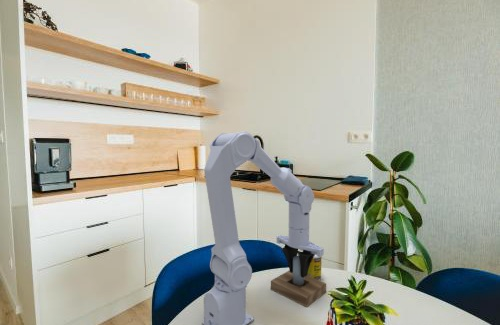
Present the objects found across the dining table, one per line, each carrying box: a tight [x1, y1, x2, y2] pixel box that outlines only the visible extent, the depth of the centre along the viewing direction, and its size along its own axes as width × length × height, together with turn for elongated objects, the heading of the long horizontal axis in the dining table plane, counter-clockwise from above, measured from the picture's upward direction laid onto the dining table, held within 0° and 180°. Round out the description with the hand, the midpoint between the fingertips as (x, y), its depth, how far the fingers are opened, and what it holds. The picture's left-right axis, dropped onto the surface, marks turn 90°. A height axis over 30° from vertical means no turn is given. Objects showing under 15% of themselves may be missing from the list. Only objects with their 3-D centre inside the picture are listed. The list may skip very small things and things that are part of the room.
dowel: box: [293, 255, 304, 285], centre depth 73 cm, size 3×3×7 cm
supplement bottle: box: [307, 243, 323, 281], centre depth 80 cm, size 6×6×10 cm
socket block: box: [270, 270, 327, 308], centre depth 73 cm, size 10×12×2 cm
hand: (298, 273), depth 73 cm, fingers closed on dowel, 3 cm apart
